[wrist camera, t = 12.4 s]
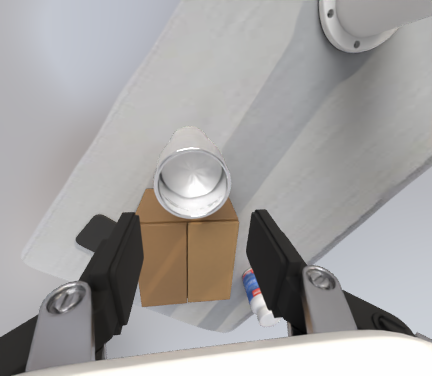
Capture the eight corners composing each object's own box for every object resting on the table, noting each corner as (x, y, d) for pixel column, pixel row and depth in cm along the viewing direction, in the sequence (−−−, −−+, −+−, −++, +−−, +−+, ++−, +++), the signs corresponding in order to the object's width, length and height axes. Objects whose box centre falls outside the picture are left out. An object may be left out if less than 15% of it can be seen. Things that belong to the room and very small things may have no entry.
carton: (225, 188, 34) (239, 222, 25) (219, 252, 40) (230, 299, 30) (145, 188, 32) (129, 225, 23) (152, 255, 38) (141, 307, 29)
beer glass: (169, 169, 31) (157, 225, 18) (163, 123, 28) (143, 147, 15) (213, 166, 32) (233, 217, 19) (211, 121, 29) (234, 142, 16)
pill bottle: (252, 262, 42) (270, 306, 33) (270, 271, 44) (291, 314, 35) (236, 279, 44) (249, 325, 35) (254, 287, 45) (271, 332, 37)
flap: (238, 221, 25) (239, 222, 25) (229, 296, 31) (229, 299, 30) (187, 222, 24) (187, 224, 24) (187, 300, 30) (187, 302, 30)
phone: (97, 212, 32) (170, 256, 38) (99, 210, 33) (171, 253, 39) (72, 241, 34) (146, 279, 39) (75, 238, 35) (147, 276, 40)
